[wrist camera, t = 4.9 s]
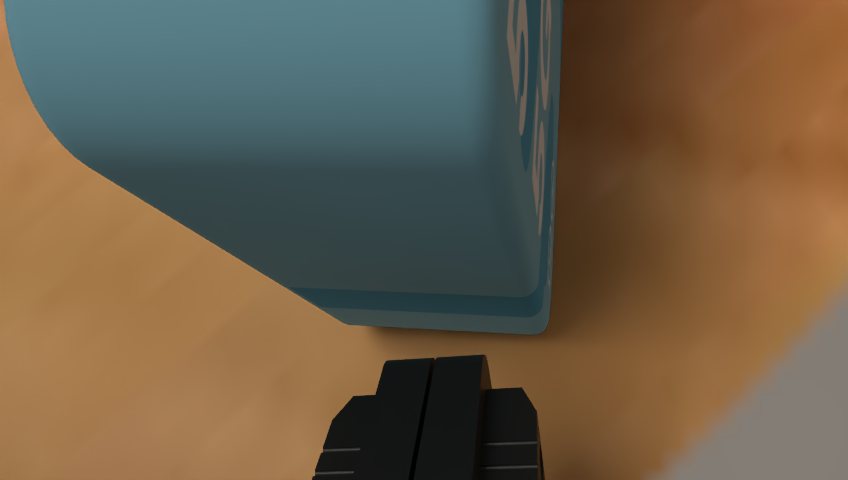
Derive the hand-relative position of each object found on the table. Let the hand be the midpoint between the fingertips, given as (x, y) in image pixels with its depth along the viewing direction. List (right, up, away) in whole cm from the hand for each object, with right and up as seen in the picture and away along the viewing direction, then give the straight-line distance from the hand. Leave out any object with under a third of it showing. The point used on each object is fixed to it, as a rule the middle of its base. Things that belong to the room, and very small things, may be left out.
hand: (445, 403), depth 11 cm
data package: (+1, +6, +8) cm, 10 cm away
